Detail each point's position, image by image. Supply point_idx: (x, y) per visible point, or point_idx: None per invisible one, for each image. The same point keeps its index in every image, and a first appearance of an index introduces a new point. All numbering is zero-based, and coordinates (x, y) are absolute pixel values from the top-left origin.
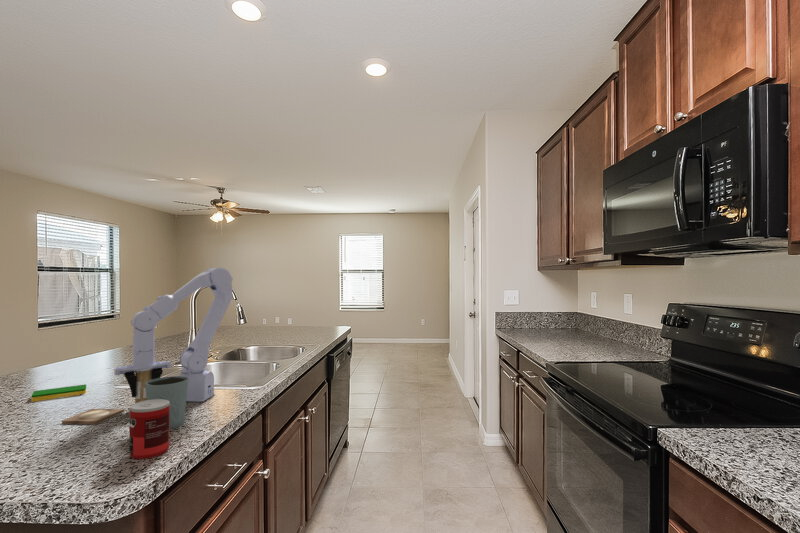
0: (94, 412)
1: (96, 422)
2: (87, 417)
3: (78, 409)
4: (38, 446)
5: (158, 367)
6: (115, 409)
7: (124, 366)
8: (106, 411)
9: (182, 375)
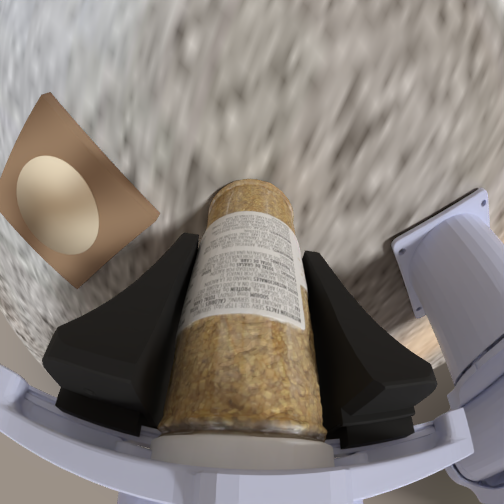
0: (49, 180)
1: (77, 286)
2: (41, 231)
3: (26, 21)
4: (21, 313)
5: (373, 451)
6: (121, 193)
7: (36, 454)
8: (87, 201)
9: (459, 359)
